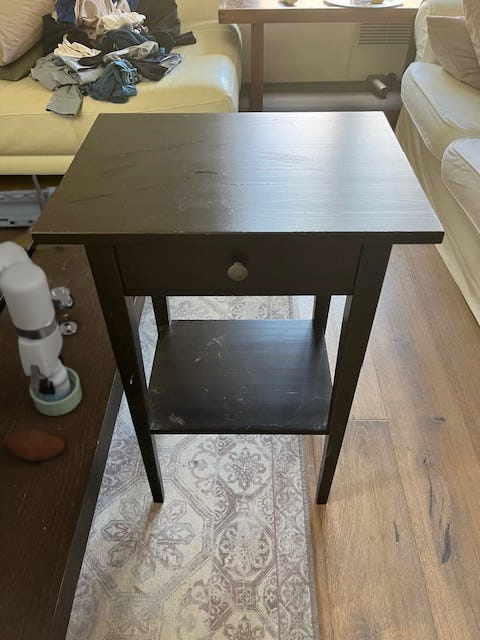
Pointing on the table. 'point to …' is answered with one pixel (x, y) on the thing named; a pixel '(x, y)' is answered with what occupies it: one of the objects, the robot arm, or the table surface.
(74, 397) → the dish
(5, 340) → the table surface
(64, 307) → the wineglass
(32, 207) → the toy train
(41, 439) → the potato
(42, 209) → the natural artifact
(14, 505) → the table surface
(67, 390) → the pill bottle
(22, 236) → the potato
